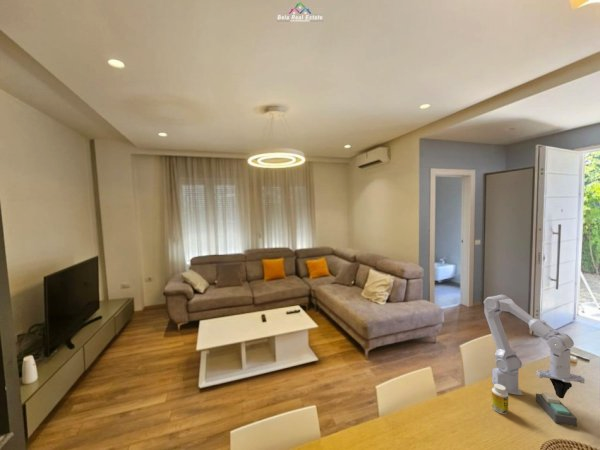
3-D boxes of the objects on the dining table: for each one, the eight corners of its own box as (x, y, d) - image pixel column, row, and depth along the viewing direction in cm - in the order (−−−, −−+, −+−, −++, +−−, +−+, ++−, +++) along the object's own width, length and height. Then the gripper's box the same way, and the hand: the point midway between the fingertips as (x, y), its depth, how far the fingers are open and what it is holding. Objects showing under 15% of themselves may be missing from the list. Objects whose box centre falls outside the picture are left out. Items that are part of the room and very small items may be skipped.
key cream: (548, 403, 107) (548, 398, 106) (541, 396, 110) (541, 392, 110) (559, 404, 105) (559, 400, 105) (553, 398, 109) (553, 393, 109)
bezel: (555, 420, 100) (555, 414, 100) (535, 398, 112) (535, 393, 112) (576, 424, 98) (577, 418, 98) (554, 401, 110) (554, 396, 110)
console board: (555, 423, 100) (555, 420, 100) (535, 400, 112) (535, 398, 112) (576, 426, 98) (576, 424, 98) (554, 403, 110) (554, 401, 110)
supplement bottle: (505, 417, 104) (505, 392, 104) (489, 408, 109) (489, 385, 108) (510, 410, 107) (510, 387, 107) (494, 403, 112) (494, 380, 111)
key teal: (557, 415, 101) (557, 410, 101) (550, 407, 105) (550, 403, 105) (569, 417, 100) (569, 412, 100) (562, 409, 104) (562, 404, 104)
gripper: (544, 367, 100) (544, 400, 101) (591, 372, 96) (590, 407, 97) (533, 357, 107) (533, 388, 107) (576, 362, 103) (576, 394, 103)
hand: (559, 396), depth 102 cm, fingers closed
